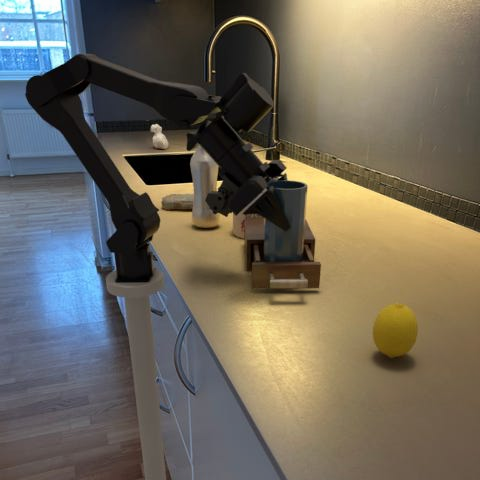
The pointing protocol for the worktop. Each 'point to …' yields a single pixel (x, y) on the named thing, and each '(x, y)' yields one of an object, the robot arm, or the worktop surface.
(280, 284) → the drawer
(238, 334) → the worktop surface
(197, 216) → the plastic bottle
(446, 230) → the worktop surface
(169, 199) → the elongated rock
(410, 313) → the lemon
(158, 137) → the bust
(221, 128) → the robot arm
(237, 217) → the teacup with lid
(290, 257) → the tumbler
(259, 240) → the cabinet
